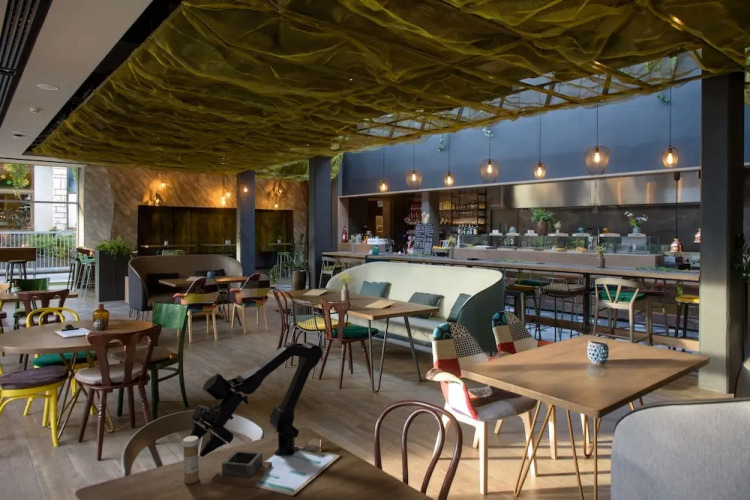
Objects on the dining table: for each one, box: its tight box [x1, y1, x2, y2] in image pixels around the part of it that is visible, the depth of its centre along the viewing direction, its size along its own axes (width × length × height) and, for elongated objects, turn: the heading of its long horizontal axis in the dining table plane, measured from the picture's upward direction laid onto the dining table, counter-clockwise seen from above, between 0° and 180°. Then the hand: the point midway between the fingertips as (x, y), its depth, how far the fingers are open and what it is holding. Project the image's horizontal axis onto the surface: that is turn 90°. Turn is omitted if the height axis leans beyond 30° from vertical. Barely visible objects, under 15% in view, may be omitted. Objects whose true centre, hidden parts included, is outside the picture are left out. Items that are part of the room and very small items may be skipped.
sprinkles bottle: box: [182, 435, 200, 484], centre depth 161 cm, size 5×5×13 cm
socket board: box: [211, 450, 273, 488], centre depth 166 cm, size 14×14×5 cm
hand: (194, 451), depth 162 cm, fingers open, 9 cm apart
